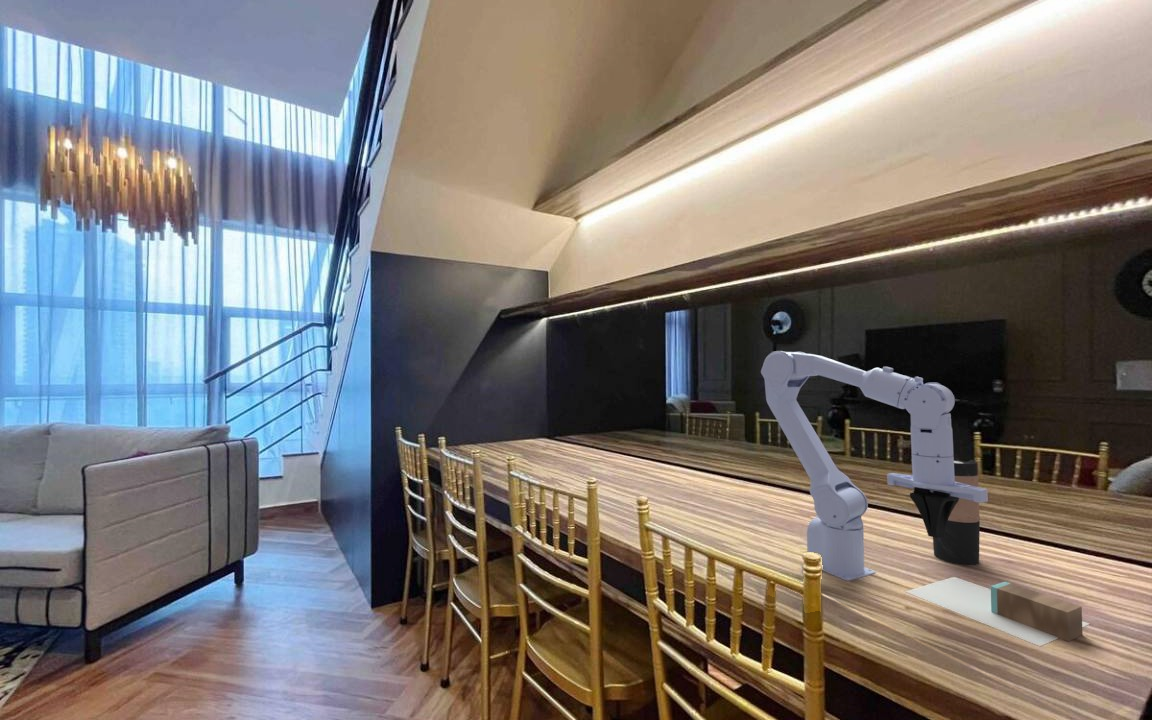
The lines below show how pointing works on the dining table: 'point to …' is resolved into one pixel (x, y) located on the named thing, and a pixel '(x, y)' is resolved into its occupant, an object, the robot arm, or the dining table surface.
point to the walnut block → (1037, 610)
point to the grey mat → (977, 607)
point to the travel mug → (961, 523)
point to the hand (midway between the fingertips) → (935, 536)
